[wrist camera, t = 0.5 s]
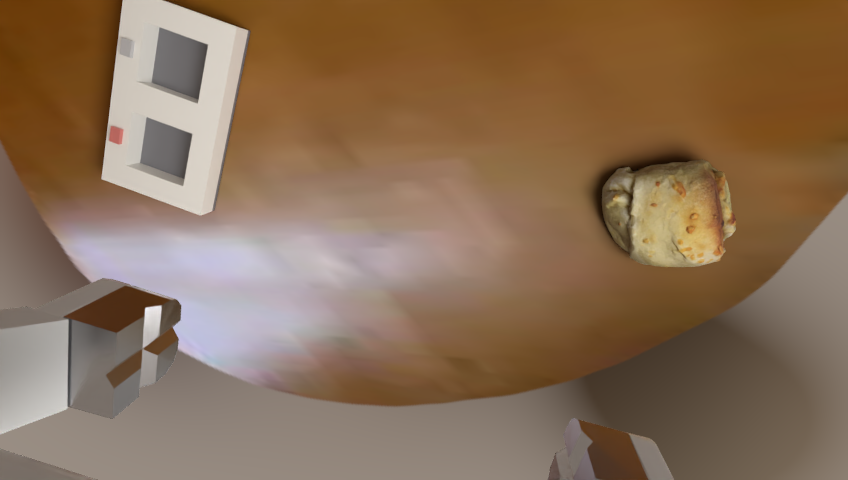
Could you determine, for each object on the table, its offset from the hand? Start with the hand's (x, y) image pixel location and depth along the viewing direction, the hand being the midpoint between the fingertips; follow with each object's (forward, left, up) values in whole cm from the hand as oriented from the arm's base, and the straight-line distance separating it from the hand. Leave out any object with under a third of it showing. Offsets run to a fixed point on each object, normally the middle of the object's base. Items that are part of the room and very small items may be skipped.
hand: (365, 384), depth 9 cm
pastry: (-2, +23, -46) cm, 52 cm away
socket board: (+6, -34, -46) cm, 57 cm away
